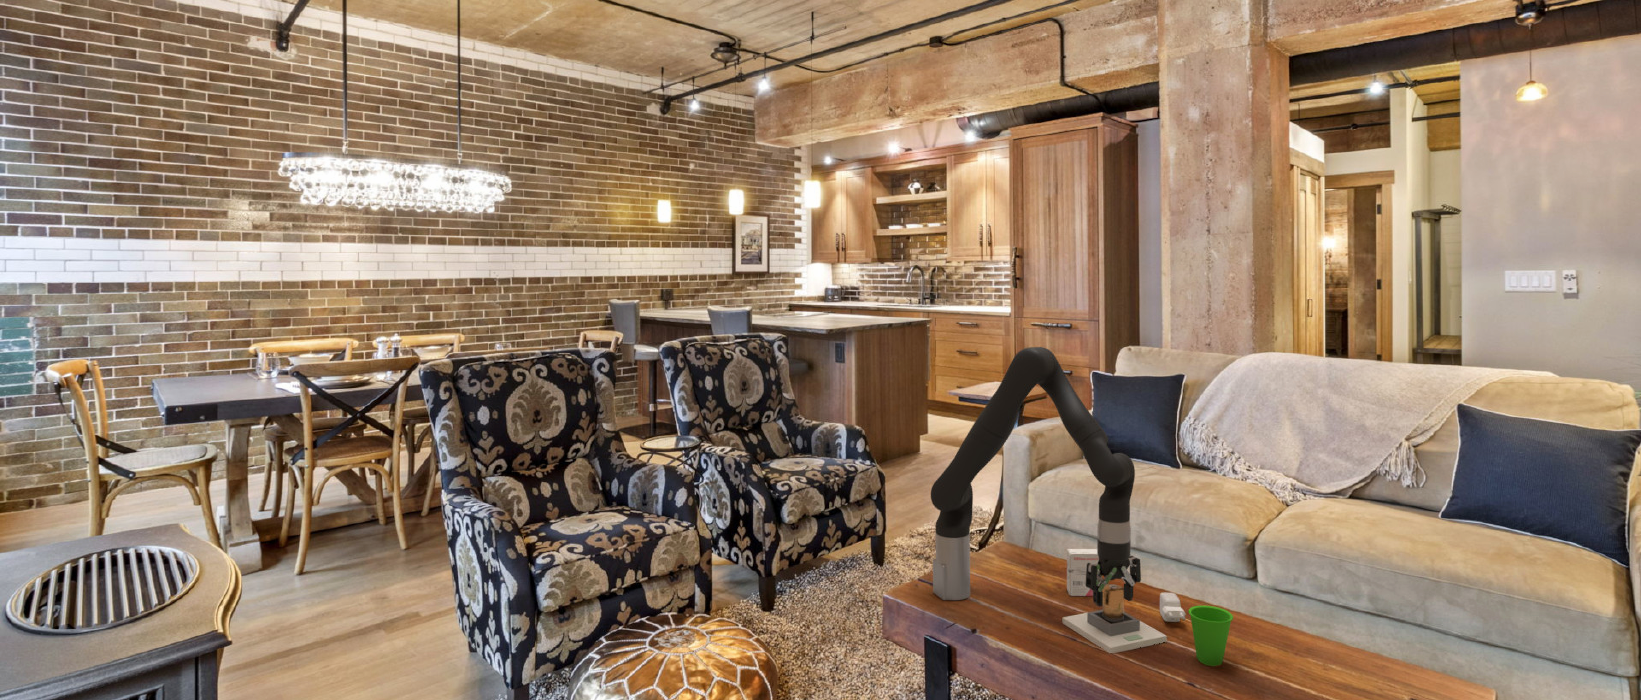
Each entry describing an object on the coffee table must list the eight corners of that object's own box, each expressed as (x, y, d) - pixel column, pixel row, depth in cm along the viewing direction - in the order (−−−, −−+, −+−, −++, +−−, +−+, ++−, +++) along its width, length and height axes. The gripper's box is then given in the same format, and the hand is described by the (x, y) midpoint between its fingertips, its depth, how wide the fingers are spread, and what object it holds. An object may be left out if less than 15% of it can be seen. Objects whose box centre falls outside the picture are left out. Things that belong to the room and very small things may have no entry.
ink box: (1098, 589, 227) (1098, 547, 226) (1102, 596, 222) (1103, 554, 221) (1066, 589, 228) (1066, 547, 227) (1069, 596, 223) (1069, 553, 222)
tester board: (1110, 653, 189) (1110, 637, 189) (1062, 623, 206) (1062, 607, 206) (1166, 642, 195) (1166, 625, 194) (1115, 613, 211) (1115, 597, 211)
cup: (1229, 654, 188) (1230, 607, 187) (1234, 673, 179) (1236, 624, 178) (1185, 649, 191) (1186, 603, 190) (1189, 667, 182) (1190, 619, 181)
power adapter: (1189, 633, 199) (1189, 609, 199) (1167, 632, 200) (1168, 608, 199) (1176, 614, 210) (1177, 591, 210) (1156, 613, 211) (1157, 590, 210)
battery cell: (1111, 631, 197) (1111, 591, 196) (1098, 623, 202) (1098, 583, 201) (1127, 628, 199) (1128, 587, 198) (1114, 620, 203) (1114, 581, 202)
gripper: (1127, 529, 204) (1126, 592, 206) (1079, 536, 199) (1078, 601, 201) (1149, 538, 197) (1148, 603, 199) (1099, 545, 192) (1098, 613, 194)
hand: (1113, 602), depth 200 cm, fingers open, 8 cm apart
